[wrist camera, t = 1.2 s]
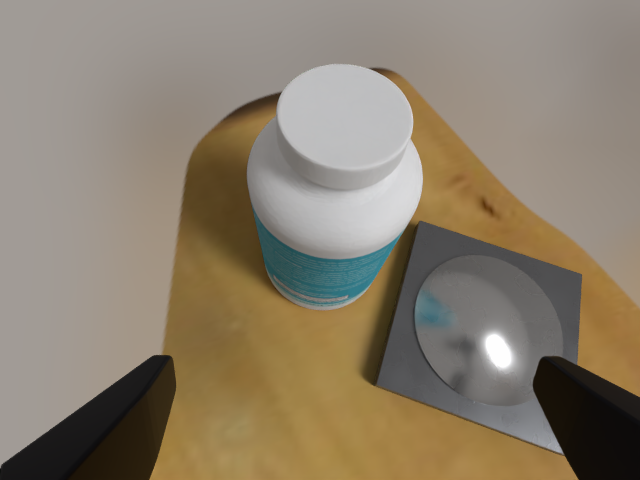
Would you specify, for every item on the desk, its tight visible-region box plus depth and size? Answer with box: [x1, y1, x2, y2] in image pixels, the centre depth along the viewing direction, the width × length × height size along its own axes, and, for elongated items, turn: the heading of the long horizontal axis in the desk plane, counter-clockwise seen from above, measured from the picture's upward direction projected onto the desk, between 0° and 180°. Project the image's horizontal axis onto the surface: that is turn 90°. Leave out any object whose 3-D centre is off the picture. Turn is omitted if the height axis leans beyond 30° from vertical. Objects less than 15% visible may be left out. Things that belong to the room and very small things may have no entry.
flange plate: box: [373, 221, 582, 456], centre depth 23 cm, size 11×11×1 cm
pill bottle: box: [247, 64, 423, 310], centre depth 19 cm, size 8×7×14 cm
